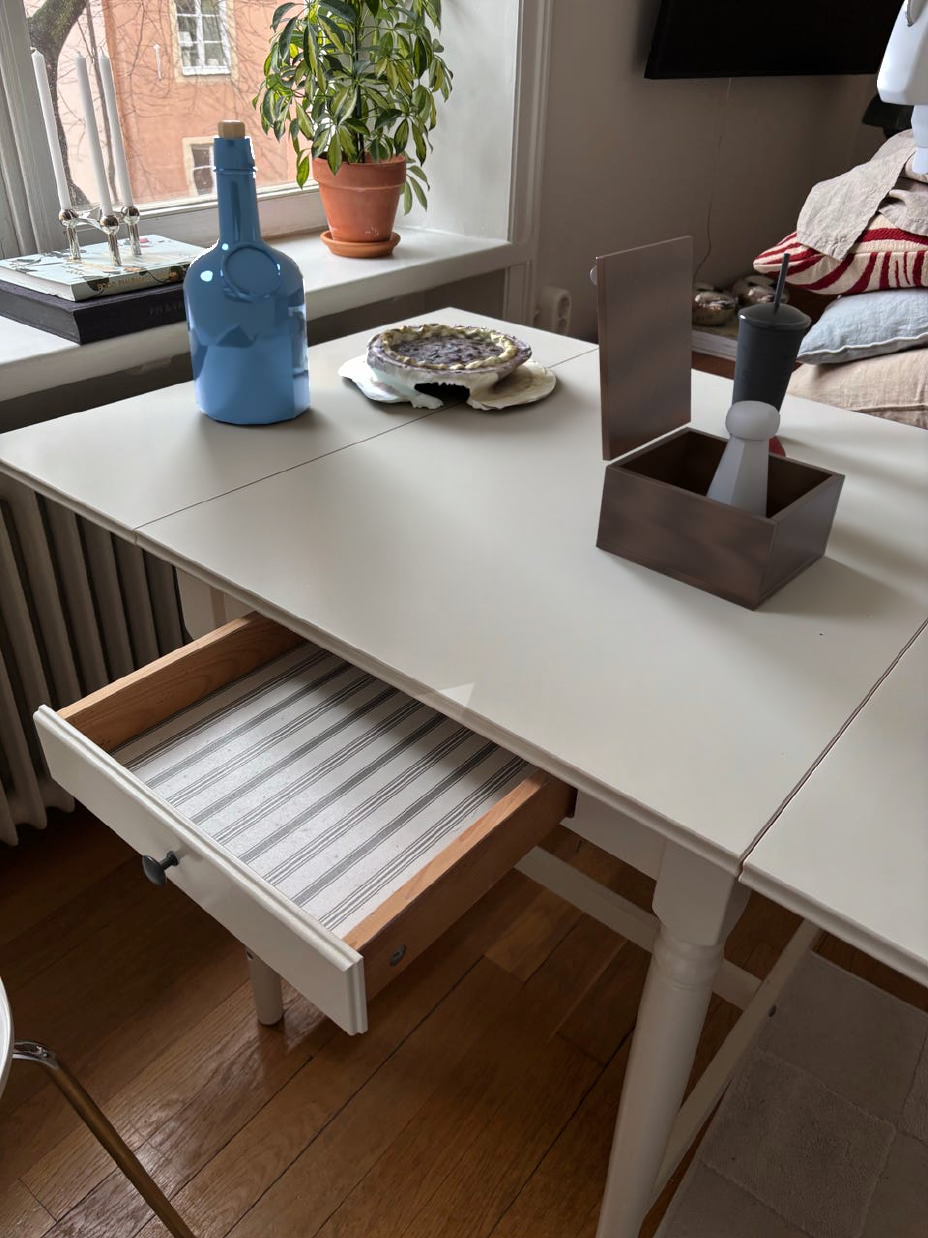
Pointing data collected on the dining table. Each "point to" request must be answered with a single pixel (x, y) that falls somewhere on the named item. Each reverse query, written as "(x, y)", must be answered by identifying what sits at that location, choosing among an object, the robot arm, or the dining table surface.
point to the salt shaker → (746, 457)
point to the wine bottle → (245, 305)
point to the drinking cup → (768, 348)
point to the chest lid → (644, 342)
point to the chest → (715, 518)
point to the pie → (449, 366)
